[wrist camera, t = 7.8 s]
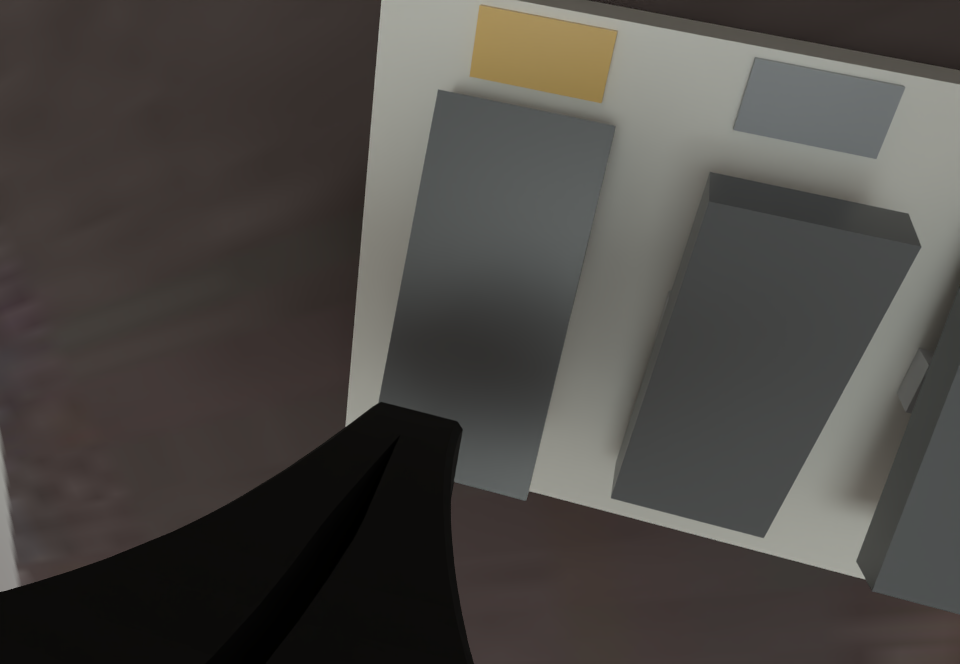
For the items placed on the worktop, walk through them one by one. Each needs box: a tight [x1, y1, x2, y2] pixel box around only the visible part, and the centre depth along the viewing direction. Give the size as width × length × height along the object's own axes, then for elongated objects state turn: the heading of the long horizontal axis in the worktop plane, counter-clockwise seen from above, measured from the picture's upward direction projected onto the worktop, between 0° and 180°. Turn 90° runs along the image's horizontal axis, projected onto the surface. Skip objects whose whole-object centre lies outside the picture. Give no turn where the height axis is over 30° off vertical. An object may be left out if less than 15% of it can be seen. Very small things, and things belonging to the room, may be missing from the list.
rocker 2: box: [611, 172, 921, 538], centre depth 17 cm, size 4×8×1 cm, turn 171°
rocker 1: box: [378, 89, 616, 501], centre depth 17 cm, size 4×8×1 cm, turn 171°
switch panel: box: [346, 0, 960, 579], centre depth 19 cm, size 18×12×3 cm, turn 81°
